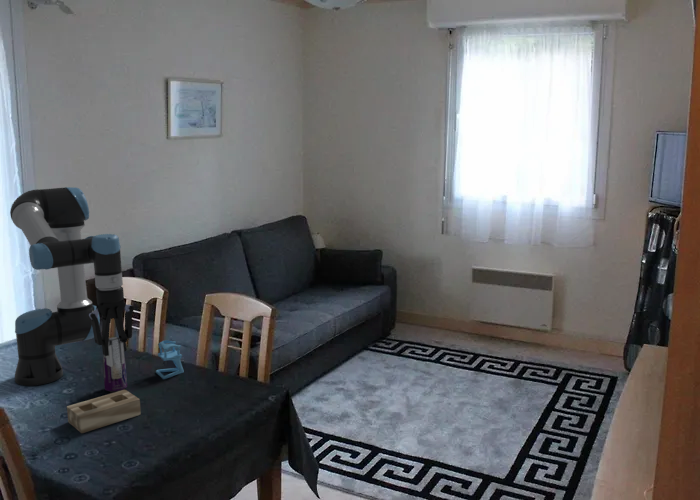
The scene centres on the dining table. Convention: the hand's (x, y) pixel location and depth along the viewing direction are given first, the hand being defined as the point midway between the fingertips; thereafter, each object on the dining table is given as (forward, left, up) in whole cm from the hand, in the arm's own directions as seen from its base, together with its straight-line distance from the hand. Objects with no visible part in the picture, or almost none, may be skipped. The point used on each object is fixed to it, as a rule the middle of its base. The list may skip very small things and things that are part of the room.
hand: (115, 363), depth 204 cm
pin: (0, 0, -4) cm, 4 cm away
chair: (-19, +28, -16) cm, 37 cm away
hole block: (0, -4, -16) cm, 17 cm away
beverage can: (-19, +8, -16) cm, 26 cm away
